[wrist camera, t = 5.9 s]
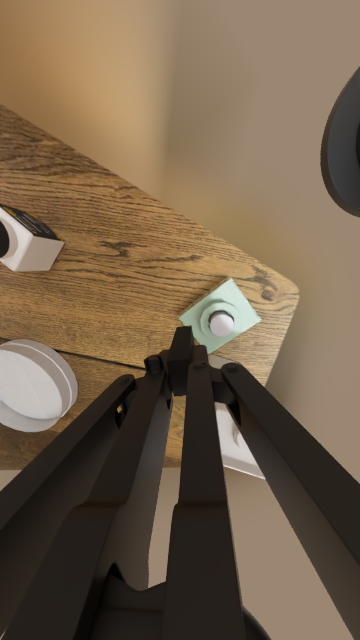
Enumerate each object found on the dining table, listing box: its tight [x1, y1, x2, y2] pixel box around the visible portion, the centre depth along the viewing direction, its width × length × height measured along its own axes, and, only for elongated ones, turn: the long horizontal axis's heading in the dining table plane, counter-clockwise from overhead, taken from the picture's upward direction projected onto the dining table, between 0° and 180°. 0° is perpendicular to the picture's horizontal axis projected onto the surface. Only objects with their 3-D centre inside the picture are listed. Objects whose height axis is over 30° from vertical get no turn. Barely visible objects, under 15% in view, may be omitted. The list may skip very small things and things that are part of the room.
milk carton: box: [208, 354, 265, 479], centre depth 28 cm, size 7×7×19 cm
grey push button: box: [209, 311, 234, 337], centre depth 27 cm, size 4×4×2 cm
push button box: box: [179, 277, 262, 354], centre depth 31 cm, size 11×9×6 cm
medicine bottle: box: [0, 204, 65, 271], centre depth 27 cm, size 7×7×12 cm
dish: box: [0, 339, 78, 432], centre depth 40 cm, size 22×22×5 cm
